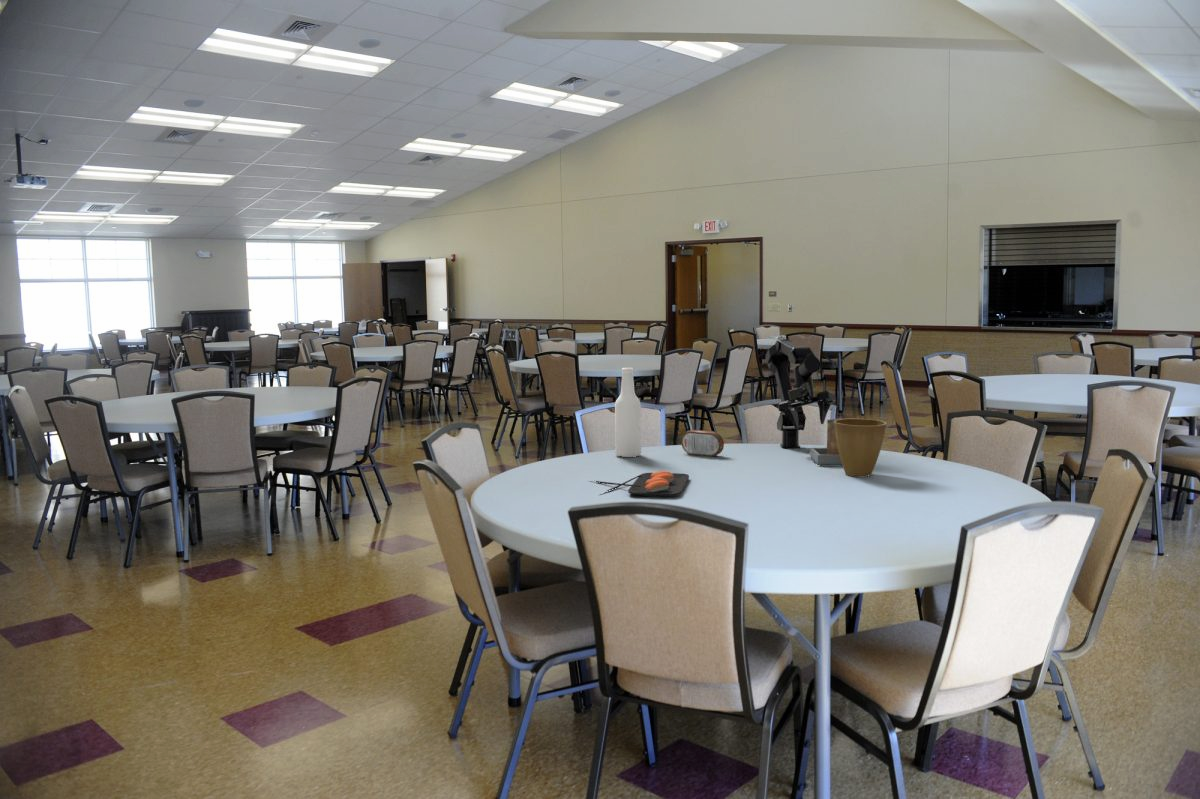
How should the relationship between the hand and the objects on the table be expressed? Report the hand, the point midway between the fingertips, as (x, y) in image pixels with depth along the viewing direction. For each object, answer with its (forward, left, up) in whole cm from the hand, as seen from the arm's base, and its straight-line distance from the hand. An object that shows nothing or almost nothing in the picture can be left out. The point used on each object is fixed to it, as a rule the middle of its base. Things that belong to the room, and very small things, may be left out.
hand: (809, 426), depth 304 cm
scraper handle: (+10, +7, -9) cm, 15 cm away
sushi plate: (+48, -58, -11) cm, 76 cm away
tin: (-4, -35, -10) cm, 37 cm away
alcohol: (-3, -60, -10) cm, 61 cm away
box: (+10, +7, -10) cm, 16 cm away
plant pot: (+31, +10, -10) cm, 34 cm away
